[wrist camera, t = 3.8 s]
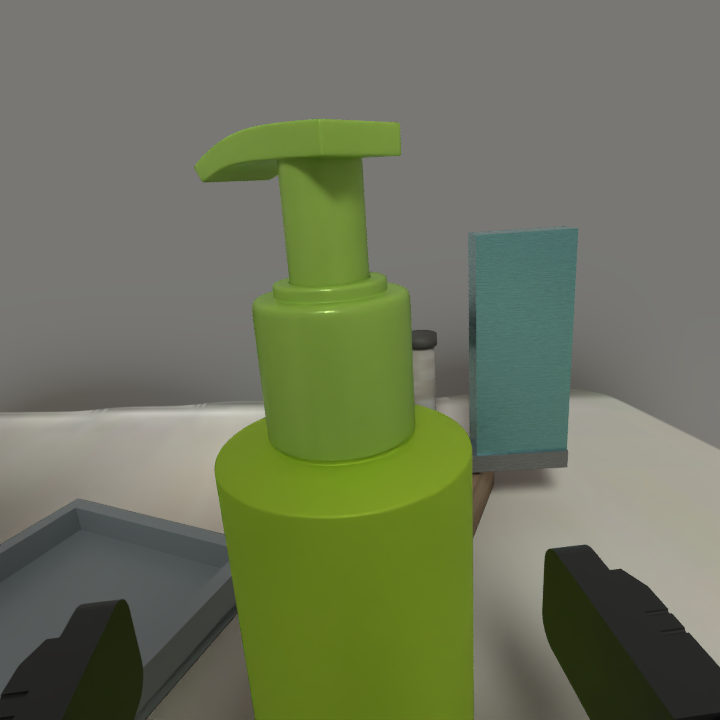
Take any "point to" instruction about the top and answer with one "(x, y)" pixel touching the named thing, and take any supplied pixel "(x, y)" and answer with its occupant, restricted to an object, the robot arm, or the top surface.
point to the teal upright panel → (520, 346)
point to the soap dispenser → (342, 462)
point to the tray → (117, 587)
